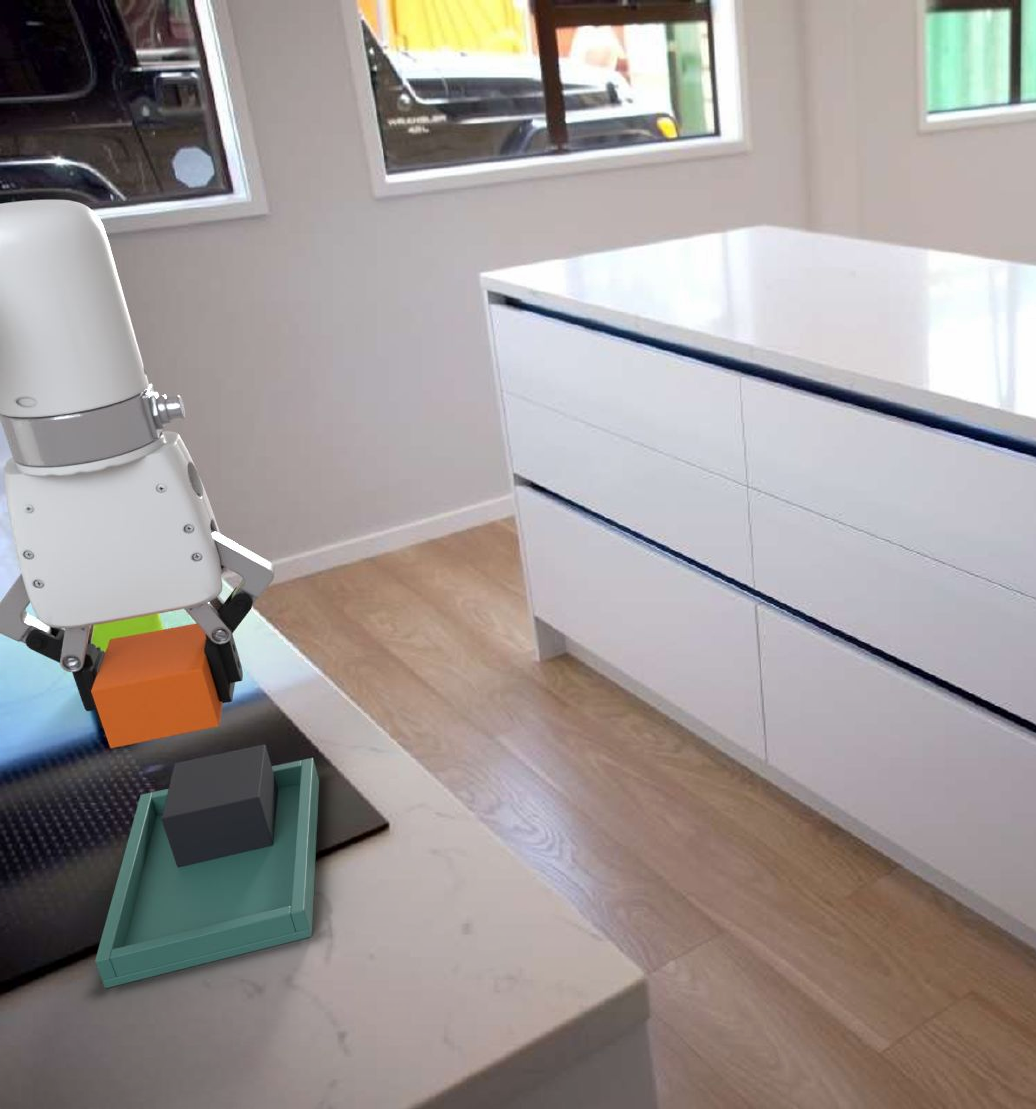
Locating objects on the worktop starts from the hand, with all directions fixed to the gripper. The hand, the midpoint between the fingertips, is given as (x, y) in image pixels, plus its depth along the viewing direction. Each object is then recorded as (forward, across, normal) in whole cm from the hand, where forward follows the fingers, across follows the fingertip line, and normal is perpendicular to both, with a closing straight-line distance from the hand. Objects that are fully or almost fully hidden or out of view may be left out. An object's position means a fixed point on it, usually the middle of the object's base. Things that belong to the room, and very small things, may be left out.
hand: (169, 701), depth 78 cm
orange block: (+1, 0, 0) cm, 1 cm away
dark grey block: (+13, 0, -5) cm, 14 cm away
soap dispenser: (+14, +10, -35) cm, 39 cm away
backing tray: (+13, 0, 0) cm, 13 cm away
